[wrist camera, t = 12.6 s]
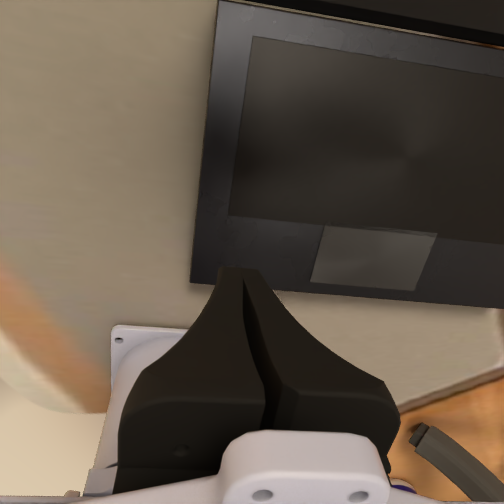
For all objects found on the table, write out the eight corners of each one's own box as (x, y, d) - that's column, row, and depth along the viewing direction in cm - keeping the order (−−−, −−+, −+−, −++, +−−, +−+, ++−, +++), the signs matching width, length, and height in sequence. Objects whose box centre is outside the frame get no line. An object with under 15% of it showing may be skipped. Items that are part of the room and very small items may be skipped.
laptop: (495, 294, 29) (510, 310, 27) (190, 268, 26) (189, 284, 24) (614, 69, 22) (643, 74, 20) (217, -2, 19) (217, -2, 18)
